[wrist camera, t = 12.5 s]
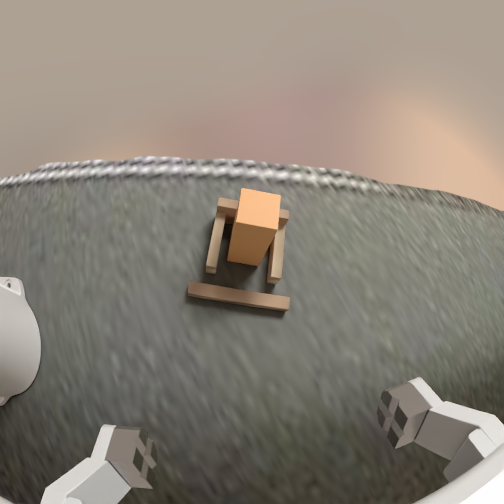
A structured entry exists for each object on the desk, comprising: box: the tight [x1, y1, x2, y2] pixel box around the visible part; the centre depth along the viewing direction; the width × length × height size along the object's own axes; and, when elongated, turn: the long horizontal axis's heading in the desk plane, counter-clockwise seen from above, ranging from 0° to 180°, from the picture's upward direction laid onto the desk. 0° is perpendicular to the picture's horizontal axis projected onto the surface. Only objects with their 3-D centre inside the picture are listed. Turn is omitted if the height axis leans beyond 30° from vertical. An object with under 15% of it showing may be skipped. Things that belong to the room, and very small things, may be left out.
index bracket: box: [206, 197, 289, 284], centre depth 35 cm, size 9×8×4 cm
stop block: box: [227, 188, 281, 266], centre depth 32 cm, size 4×4×10 cm
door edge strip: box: [187, 281, 290, 311], centre depth 33 cm, size 12×2×1 cm, turn 83°
